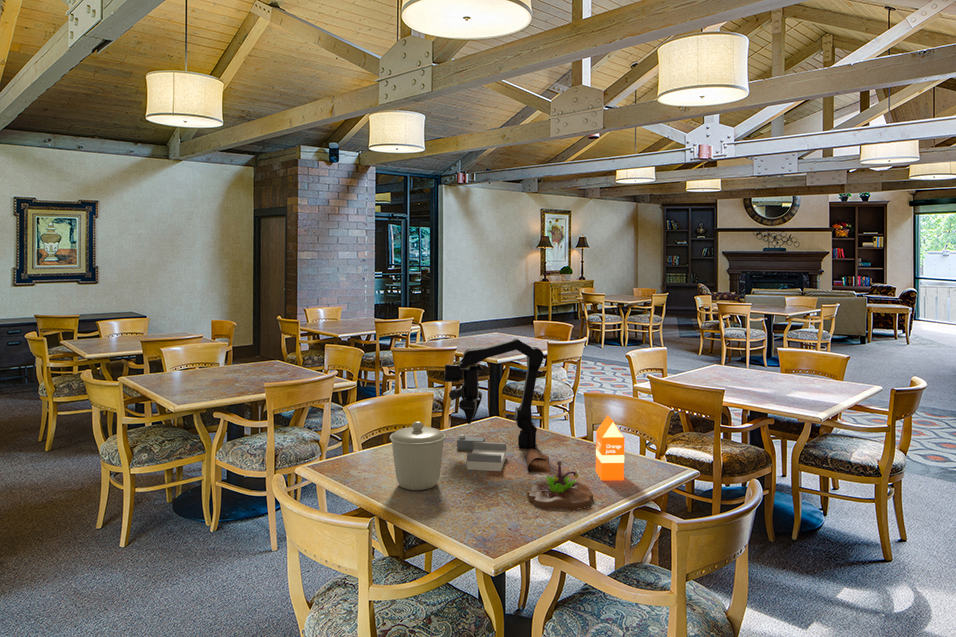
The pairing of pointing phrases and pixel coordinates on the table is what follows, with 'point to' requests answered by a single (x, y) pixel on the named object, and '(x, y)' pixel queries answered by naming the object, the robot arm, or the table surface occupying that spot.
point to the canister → (417, 456)
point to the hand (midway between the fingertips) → (471, 421)
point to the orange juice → (609, 451)
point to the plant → (560, 492)
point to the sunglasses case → (537, 461)
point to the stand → (487, 456)
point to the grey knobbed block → (468, 442)
